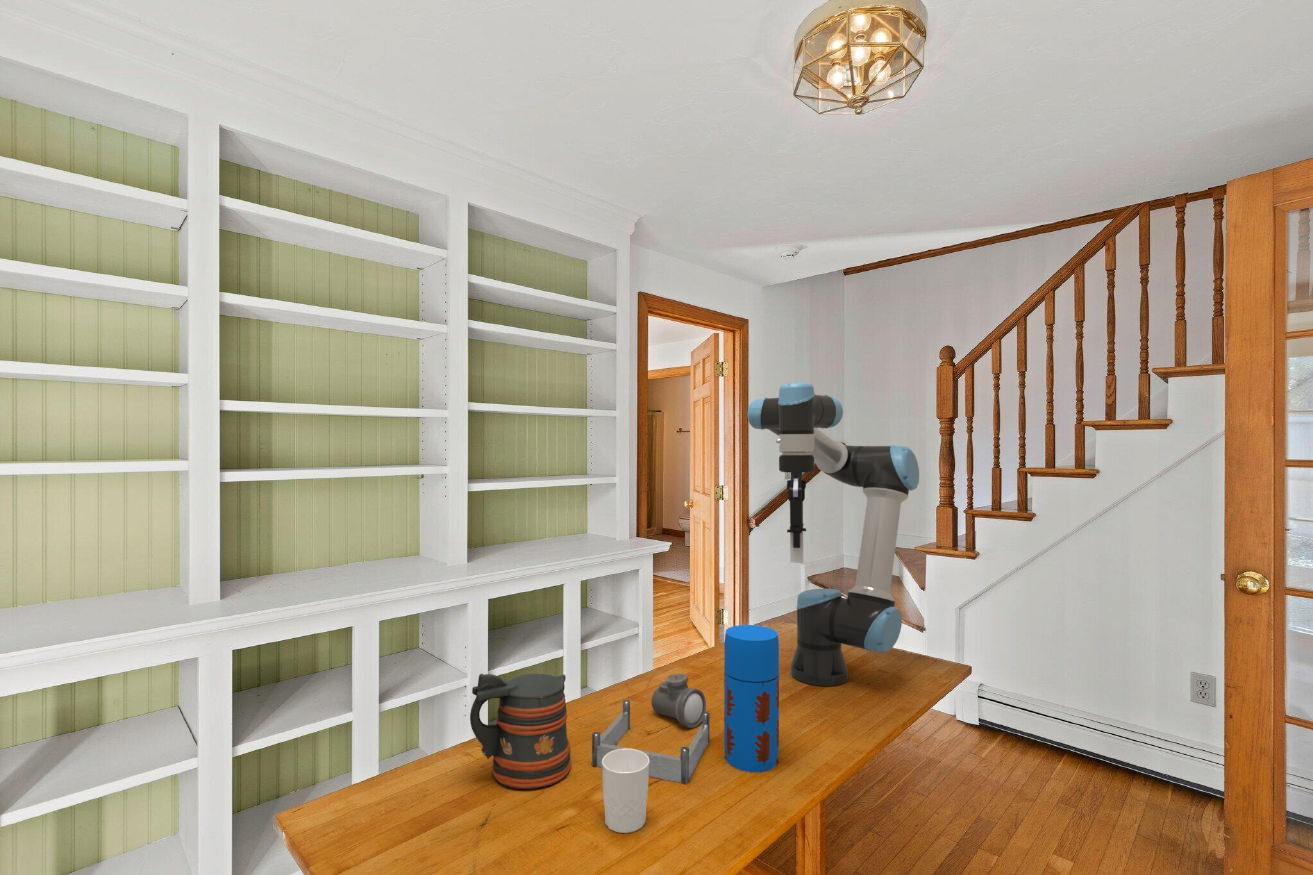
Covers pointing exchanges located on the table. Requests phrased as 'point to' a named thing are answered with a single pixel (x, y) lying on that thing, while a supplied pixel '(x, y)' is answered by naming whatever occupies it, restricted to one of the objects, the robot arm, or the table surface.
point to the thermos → (751, 697)
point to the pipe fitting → (679, 701)
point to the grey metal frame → (658, 763)
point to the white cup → (625, 789)
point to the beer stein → (524, 729)
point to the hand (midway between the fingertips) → (796, 561)
